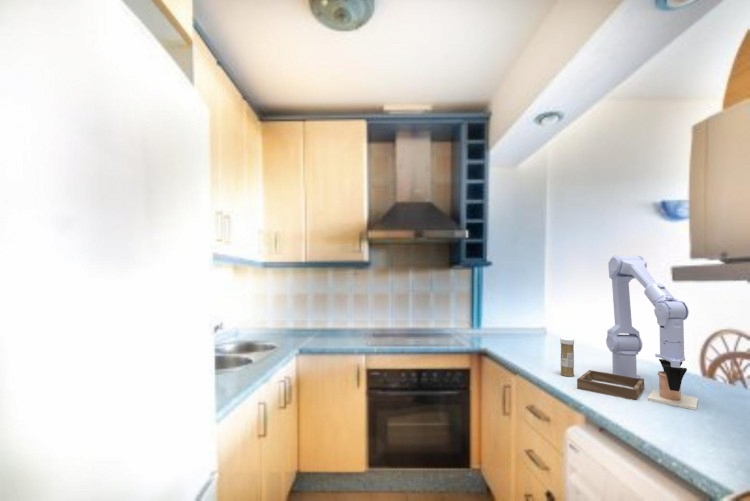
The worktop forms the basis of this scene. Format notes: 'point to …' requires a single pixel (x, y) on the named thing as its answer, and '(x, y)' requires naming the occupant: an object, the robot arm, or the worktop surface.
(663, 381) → the terracotta pot
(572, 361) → the sprinkles bottle
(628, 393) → the box
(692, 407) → the ceramic tile
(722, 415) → the worktop surface
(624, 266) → the robot arm
